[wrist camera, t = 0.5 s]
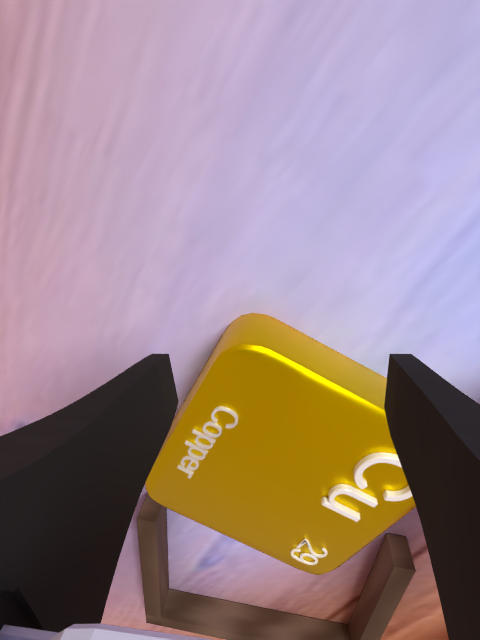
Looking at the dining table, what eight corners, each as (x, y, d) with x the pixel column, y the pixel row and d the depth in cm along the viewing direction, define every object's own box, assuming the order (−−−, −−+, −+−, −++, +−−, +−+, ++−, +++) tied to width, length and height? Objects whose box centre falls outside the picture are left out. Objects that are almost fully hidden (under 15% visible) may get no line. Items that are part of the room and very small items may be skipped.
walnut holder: (405, 536, 28) (415, 570, 26) (360, 635, 35) (364, 669, 33) (148, 491, 30) (136, 518, 28) (155, 593, 37) (146, 622, 35)
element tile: (243, 297, 21) (230, 336, 17) (449, 408, 23) (484, 469, 18) (156, 448, 28) (131, 502, 24) (318, 526, 29) (322, 590, 25)
